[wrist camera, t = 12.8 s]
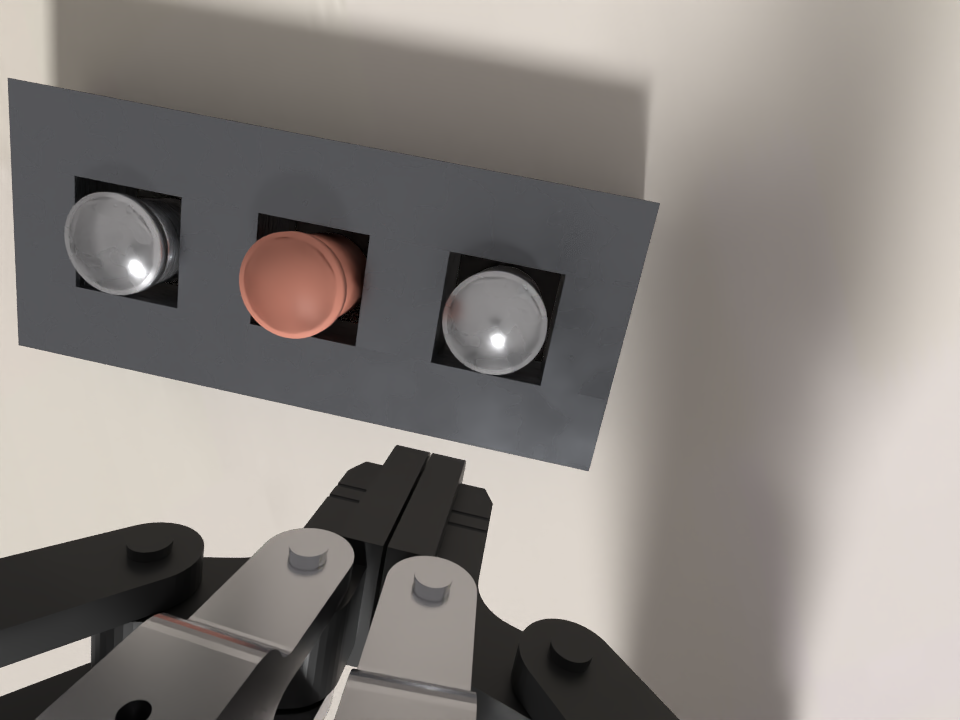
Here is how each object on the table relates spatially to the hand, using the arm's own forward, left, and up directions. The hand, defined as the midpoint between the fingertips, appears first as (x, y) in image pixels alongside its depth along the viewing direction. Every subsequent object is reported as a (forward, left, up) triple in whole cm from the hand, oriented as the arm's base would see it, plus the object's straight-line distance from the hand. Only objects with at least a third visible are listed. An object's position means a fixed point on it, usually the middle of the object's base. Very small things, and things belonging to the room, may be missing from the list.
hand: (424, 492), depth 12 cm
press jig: (+8, -1, -17) cm, 19 cm away
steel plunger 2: (0, -1, -17) cm, 17 cm away
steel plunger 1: (+17, -1, -17) cm, 24 cm away
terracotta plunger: (+8, -1, -16) cm, 18 cm away
